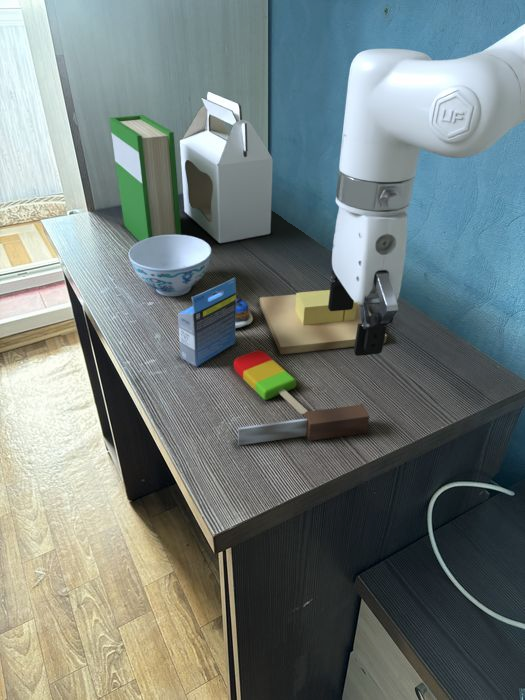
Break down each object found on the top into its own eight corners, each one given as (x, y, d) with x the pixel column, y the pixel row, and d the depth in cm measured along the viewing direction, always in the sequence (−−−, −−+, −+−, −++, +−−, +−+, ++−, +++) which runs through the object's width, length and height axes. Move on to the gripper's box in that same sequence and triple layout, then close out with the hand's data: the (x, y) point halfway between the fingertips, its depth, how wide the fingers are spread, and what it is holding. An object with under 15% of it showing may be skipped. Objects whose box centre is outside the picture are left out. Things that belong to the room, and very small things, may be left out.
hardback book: (182, 246, 115) (173, 132, 101) (150, 253, 112) (137, 136, 98) (153, 220, 127) (142, 114, 113) (124, 225, 124) (109, 117, 110)
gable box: (183, 211, 132) (175, 90, 116) (230, 204, 137) (229, 87, 121) (219, 244, 116) (216, 109, 100) (271, 234, 122) (275, 104, 105)
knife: (359, 420, 70) (362, 404, 69) (366, 433, 68) (369, 416, 67) (236, 437, 67) (236, 420, 65) (239, 451, 65) (239, 434, 64)
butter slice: (344, 305, 92) (347, 288, 90) (354, 320, 89) (357, 302, 86) (334, 306, 92) (336, 289, 90) (343, 321, 88) (346, 303, 86)
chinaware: (228, 286, 100) (228, 249, 96) (171, 317, 91) (167, 277, 86) (175, 263, 108) (172, 228, 104) (117, 289, 98) (111, 252, 94)
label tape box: (219, 335, 87) (217, 268, 79) (237, 344, 84) (236, 277, 77) (179, 358, 81) (173, 288, 74) (197, 368, 79) (192, 298, 72)
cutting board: (352, 296, 98) (353, 289, 98) (385, 343, 86) (387, 335, 85) (259, 304, 95) (259, 297, 94) (280, 354, 82) (280, 347, 82)
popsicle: (260, 357, 82) (260, 347, 81) (320, 411, 72) (322, 401, 71) (230, 368, 79) (230, 358, 78) (289, 426, 69) (289, 416, 68)
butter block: (333, 306, 92) (335, 289, 90) (342, 321, 88) (344, 303, 86) (295, 310, 91) (296, 292, 89) (303, 325, 87) (304, 307, 85)
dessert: (263, 312, 91) (250, 295, 86) (246, 344, 90) (231, 329, 85) (228, 301, 95) (214, 284, 90) (211, 331, 94) (195, 316, 89)
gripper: (448, 219, 46) (412, 370, 56) (377, 164, 60) (357, 293, 70) (369, 223, 45) (346, 377, 55) (314, 166, 59) (304, 297, 69)
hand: (353, 330), depth 63 cm, fingers open, 9 cm apart
